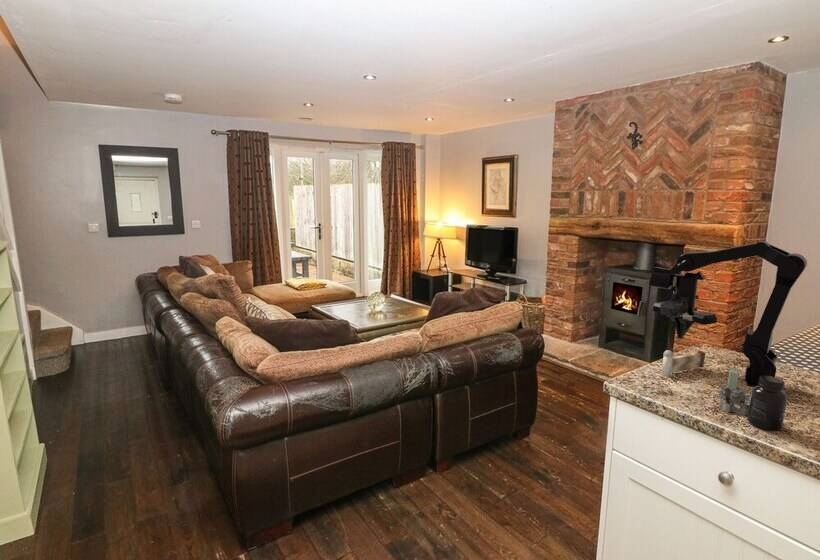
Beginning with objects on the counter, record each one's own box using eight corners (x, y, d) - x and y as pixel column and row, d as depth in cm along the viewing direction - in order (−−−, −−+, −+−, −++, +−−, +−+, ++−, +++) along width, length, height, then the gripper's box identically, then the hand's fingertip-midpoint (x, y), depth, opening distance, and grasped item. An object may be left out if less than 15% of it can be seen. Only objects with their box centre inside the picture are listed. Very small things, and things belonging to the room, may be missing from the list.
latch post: (735, 386, 136) (738, 369, 135) (736, 390, 133) (738, 373, 132) (727, 384, 137) (730, 368, 136) (727, 388, 134) (730, 371, 133)
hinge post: (670, 374, 144) (673, 350, 143) (670, 376, 142) (673, 352, 140) (661, 372, 145) (664, 348, 144) (660, 375, 143) (663, 350, 142)
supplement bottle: (788, 433, 109) (797, 386, 107) (755, 430, 110) (763, 383, 108) (772, 420, 116) (780, 375, 113) (741, 417, 117) (748, 372, 115)
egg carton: (750, 418, 117) (753, 403, 116) (715, 410, 121) (717, 395, 120) (751, 403, 125) (754, 389, 124) (718, 396, 129) (720, 382, 129)
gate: (672, 373, 143) (674, 357, 142) (667, 370, 145) (669, 355, 144) (703, 367, 149) (705, 352, 148) (698, 365, 150) (700, 350, 149)
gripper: (643, 287, 153) (638, 332, 156) (695, 299, 136) (689, 350, 139) (667, 285, 157) (662, 329, 160) (721, 296, 140) (714, 345, 143)
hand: (680, 338), depth 151 cm, fingers closed
